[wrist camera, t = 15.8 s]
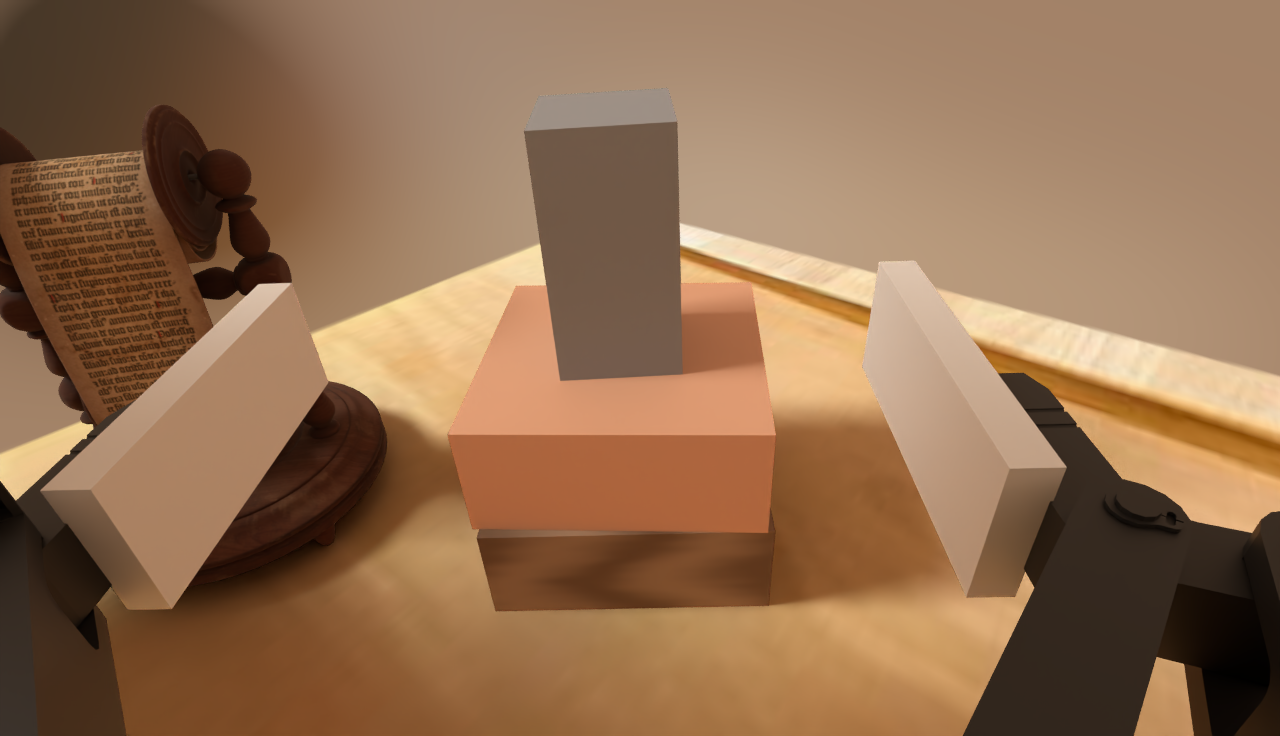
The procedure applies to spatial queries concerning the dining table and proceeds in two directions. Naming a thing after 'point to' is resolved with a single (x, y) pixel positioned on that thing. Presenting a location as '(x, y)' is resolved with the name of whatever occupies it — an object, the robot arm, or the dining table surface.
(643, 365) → the grey block
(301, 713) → the dining table surface
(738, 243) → the dining table surface
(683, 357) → the tower top
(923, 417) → the robot arm
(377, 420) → the scroll
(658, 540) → the tower bottom
